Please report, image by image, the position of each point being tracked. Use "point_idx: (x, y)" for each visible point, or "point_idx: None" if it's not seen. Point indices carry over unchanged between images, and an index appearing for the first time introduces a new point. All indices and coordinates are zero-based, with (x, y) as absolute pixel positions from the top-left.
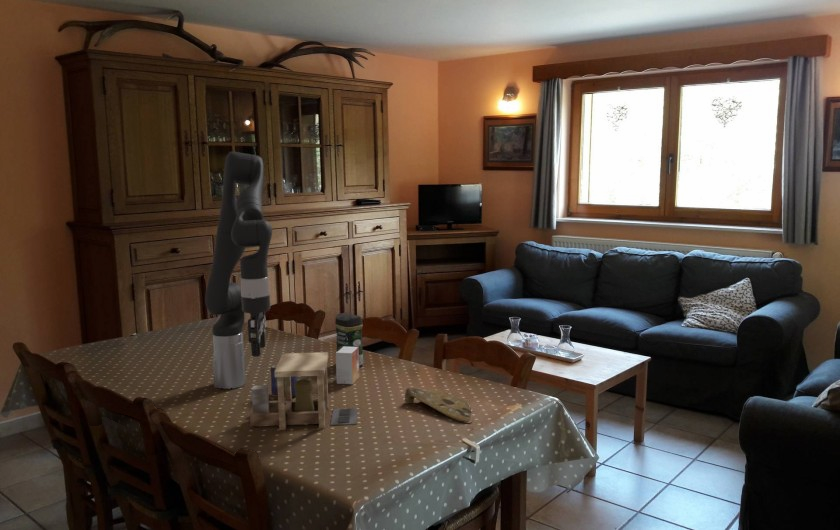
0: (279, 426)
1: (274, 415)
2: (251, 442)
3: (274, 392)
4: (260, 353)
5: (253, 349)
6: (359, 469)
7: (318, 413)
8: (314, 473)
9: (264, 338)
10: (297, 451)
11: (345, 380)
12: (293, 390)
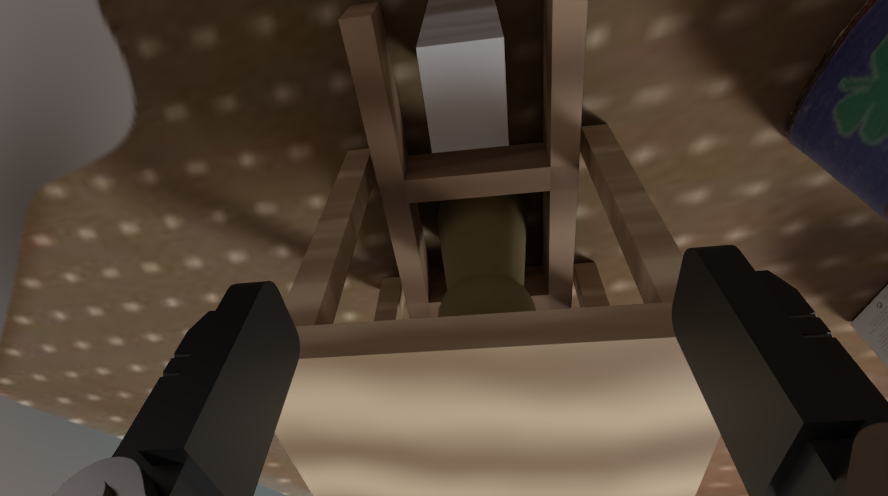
0: (345, 158)
1: (369, 148)
2: (191, 61)
3: (886, 1)
4: (294, 367)
5: (164, 388)
6: (141, 386)
7: (374, 319)
8: (65, 310)
9: (725, 441)
10: (179, 247)
11: (880, 313)
12: (808, 135)
